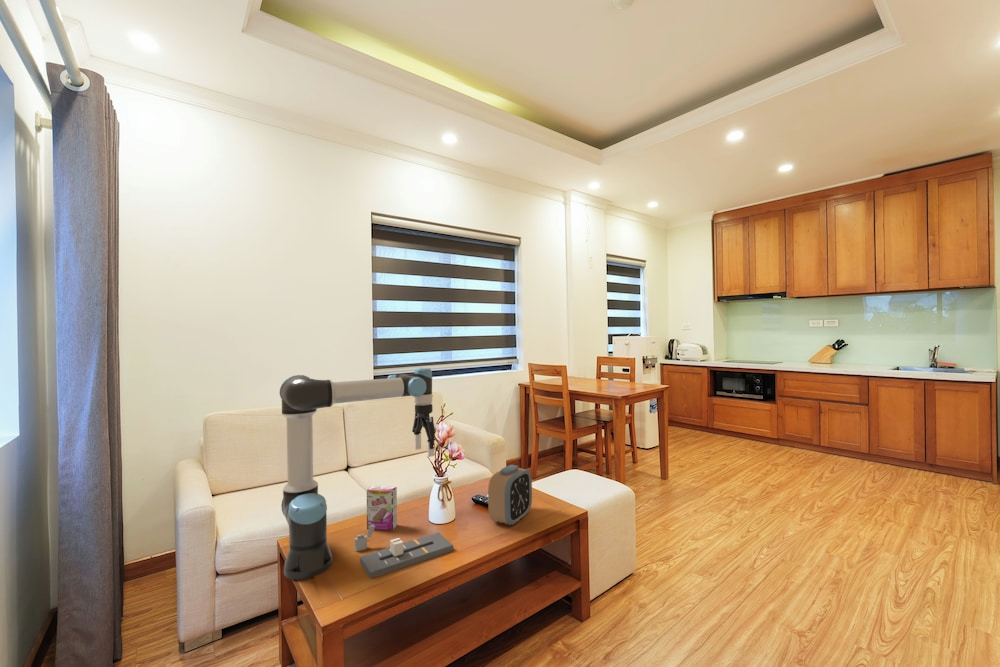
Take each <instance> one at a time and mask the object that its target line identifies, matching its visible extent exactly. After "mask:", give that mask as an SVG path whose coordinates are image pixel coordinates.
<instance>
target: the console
mask: <svg viewBox="0 0 1000 667" xmlns="http://www.w3.org/2000/svg"><path fill="white" fill-rule="evenodd" d="M453 551H454V544H452V542H451V541H449V540H448V539H447V538H446V537H444V536H443V535H442V534H441V533H440V532H436V533H432V534H429V535H426V536H422V537H419V538H417V539H412V540H409V541H406V542H403V555H400V556H397V557H394V556H393V555H392V554H391V552H390V547H387V548H383V549H380V550H376V551H373V552H370V553H367V554H364V555H361V556H359V563H360V565H361V566H362V567H363V569H364V570H365V572H366V573H367V575H368V577H369V578H370V579H374V578H377V577H379V576H382V575H386V574H388V573H390V572H391V573H392V572H394V571H397V570H401V569H403V568H406V567H409V566H411V565H414V564H415V565H416V564H418V563H421V562H424V561H426V560H430V559H431V558H436V557H438V556H440V555H444V554H447V553H450V552H453Z"/></svg>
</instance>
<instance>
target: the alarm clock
mask: <svg viewBox="0 0 1000 667" xmlns="http://www.w3.org/2000/svg"><path fill="white" fill-rule="evenodd" d="M489 479H490V480H489V483H488V488H487V489H488V492H487V494H488V500H487V504H488V515H489V518H490V519H491V520H493V521H496V523H499V522H500V523H499V524H502V523H505V524H504V525H506V524H509V525H508V526H510V525H513V524H515V523H516V522H517V521H518V522H519V521H521V520H522V519H523V518H525V516H526V515H527V514H528V513H529V512H530V510H531V507H532V502H533V500H532V499H533V490H532V488H533V481H532V479H533V478H532V474H531V471H530V470H528V469H525V468H519V465H515V464H509V465H507V466H505V467H503V468H501V469H500V470H499V471H497V472H496V473H494V474H493V475H492V476H491V478H489ZM522 517H523V518H522ZM521 518H522V519H521ZM520 519H521V520H520ZM518 522H517V523H518ZM517 523H516V524H517ZM516 524H515V525H516ZM513 526H514V525H513Z"/></svg>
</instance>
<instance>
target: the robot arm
mask: <svg viewBox="0 0 1000 667" xmlns="http://www.w3.org/2000/svg"><path fill="white" fill-rule="evenodd" d="M279 396H280V399H281V415H282V416H284V417H285V418H286V449H287V450H286V452H287V453H286V458H287V459H286V460H287V461H286V462H287V468H286V469H287V483H286V484H285V485H284V487H283V489H282V496H283V497H282V500H281V506H280V507H281V512H282V514H283V516H284V518H285V520H286V522H287V524H288V534H289V535H288V536H289V537H288V538H289V540H288V541H289V547H288V548H289V549H288V553H287V556H286V559H285V561H284V565H283V575H284V577H285V578H286V579H289V580H291V581H304V580H310V579H312V578H313V579H314V578H315V577H316V576H319V575H321V574H322V573H325V572H326V571H327V570H328V569H330V568H331V567H332V565H333V554H332V551H331V549H330V546H329V543H328V537H327V533H328V532H327V531H328V529H327V528H328V527H327V524H328V522H327V521H328V520H327V510H328V505H327V500H326V498H325V496H323V495H322V494H319V483H318V481H316V480H315V479H314V442H313V440H314V439H313V438H314V437H313V436H314V435H313V432H314V431H313V415H314V414H315V413H316V412H317V409H324V408H332V407H333V405H334V404H343V403H351V402H352V403H353V402H361V401H371V400H373V401H374V400H383V399H390V398H391V399H393V398H400V397H403V398H404V397H405V398H406V397H414V412H415V413H414V420H413V425H412V431H411V432H412V433H413V434H414V450H416V451H417V450H421V449H422V429H423V428H424V430H425V434H426V437H427V458H431V457H435V441H436V440H435V439H434V431H435V432H436V426H435V423H434V416H430V414H432V413H433V404H432V403H433V397H434V395H433V372H432V369H431V368H429V367H418V368H415V369H414V370H413V372H412V373H400V374H396V373H395V374H390V375H388V376H387V378H376V379H362V380H360V379H359V380H346V381H332V380H331V379H314V378H310V377H309V376H306V375H304V374H301V375H300V374H297V375H293V376H292V375H291V376H289V377H288V378H286V379H285V380H284V381H283V382H282V384H281V386H280V388H279ZM433 445H434V447H433Z"/></svg>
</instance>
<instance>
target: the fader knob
mask: <svg viewBox="0 0 1000 667" xmlns="http://www.w3.org/2000/svg"><path fill="white" fill-rule="evenodd" d="M403 543H404V541H403V540H401V538H400V537H397V538H394V539H390V540H389V546H390V552H391V554H392V555H393V556H394V557H397V556H400V555H403Z"/></svg>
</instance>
